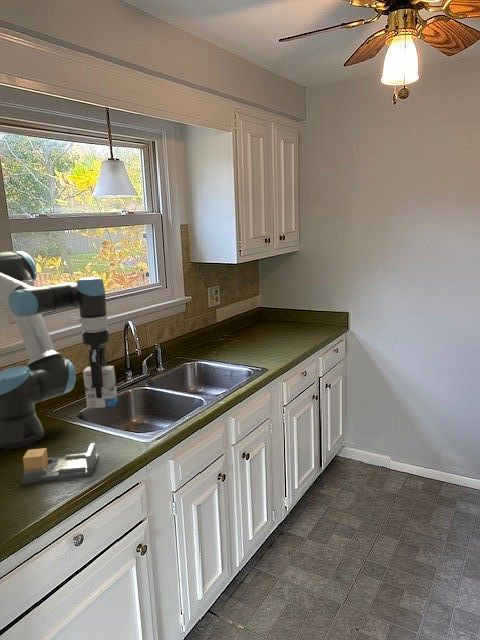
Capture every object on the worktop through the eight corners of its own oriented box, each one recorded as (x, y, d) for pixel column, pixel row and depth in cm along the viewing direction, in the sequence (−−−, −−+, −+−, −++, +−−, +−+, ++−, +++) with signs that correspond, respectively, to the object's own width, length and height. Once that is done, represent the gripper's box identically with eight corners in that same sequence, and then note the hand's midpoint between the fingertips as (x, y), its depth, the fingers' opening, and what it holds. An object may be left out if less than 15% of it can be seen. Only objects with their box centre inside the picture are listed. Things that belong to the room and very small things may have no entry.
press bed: (34, 464, 142) (31, 447, 140) (98, 458, 144) (96, 440, 143) (22, 483, 131) (19, 465, 130) (92, 476, 133) (90, 458, 132)
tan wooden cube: (30, 464, 138) (28, 449, 137) (48, 462, 139) (46, 448, 138) (24, 473, 133) (22, 457, 133) (43, 471, 134) (41, 456, 133)
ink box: (118, 400, 151) (115, 364, 149) (114, 406, 146) (111, 369, 144) (90, 402, 151) (86, 365, 149) (86, 408, 146) (82, 370, 144)
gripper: (87, 324, 152) (94, 394, 157) (75, 337, 135) (84, 416, 139) (112, 322, 153) (118, 392, 158) (103, 336, 135) (110, 414, 140)
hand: (102, 403), depth 149 cm, fingers closed on ink box, 5 cm apart
